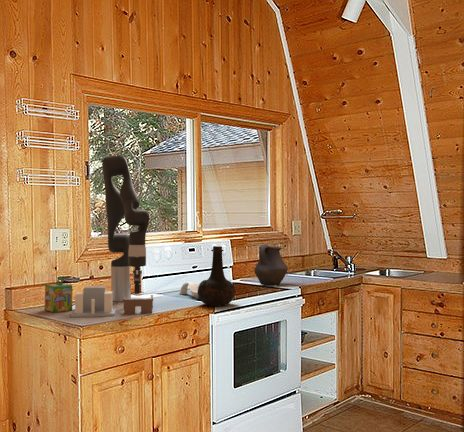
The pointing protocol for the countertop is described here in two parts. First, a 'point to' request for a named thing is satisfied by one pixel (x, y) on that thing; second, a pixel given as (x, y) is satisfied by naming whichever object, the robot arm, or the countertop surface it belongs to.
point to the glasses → (132, 303)
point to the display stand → (93, 302)
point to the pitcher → (270, 266)
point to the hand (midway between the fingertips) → (137, 292)
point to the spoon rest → (192, 287)
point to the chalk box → (58, 297)
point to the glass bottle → (216, 283)
